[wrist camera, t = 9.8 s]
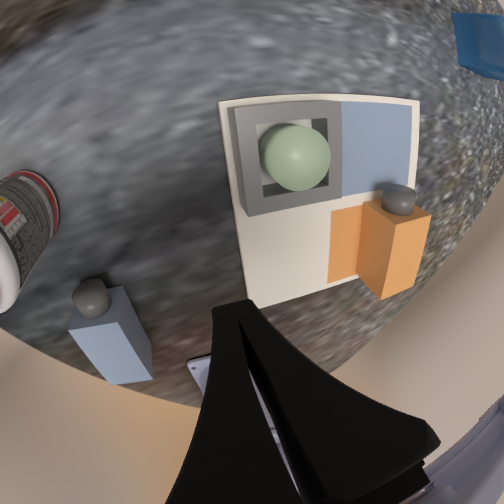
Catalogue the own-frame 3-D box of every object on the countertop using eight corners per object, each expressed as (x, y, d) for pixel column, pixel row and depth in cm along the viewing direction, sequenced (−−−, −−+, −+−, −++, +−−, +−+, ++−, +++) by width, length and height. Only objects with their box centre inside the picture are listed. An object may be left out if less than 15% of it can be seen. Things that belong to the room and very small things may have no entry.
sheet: (397, 259, 25) (400, 262, 25) (248, 306, 23) (250, 310, 22) (414, 100, 17) (419, 101, 16) (217, 102, 14) (218, 102, 13)
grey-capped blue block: (151, 343, 22) (153, 379, 19) (113, 349, 22) (110, 384, 18) (116, 267, 18) (108, 304, 15) (71, 278, 17) (57, 314, 14)
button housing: (326, 187, 18) (341, 198, 17) (240, 204, 17) (248, 217, 16) (323, 99, 15) (340, 101, 13) (226, 107, 14) (234, 108, 12)
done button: (315, 176, 17) (331, 185, 15) (261, 185, 16) (272, 196, 14) (312, 121, 15) (329, 125, 13) (255, 126, 14) (266, 130, 12)
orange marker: (387, 261, 24) (413, 285, 21) (355, 273, 24) (380, 300, 20) (400, 178, 20) (434, 196, 16) (364, 184, 19) (398, 204, 16)
